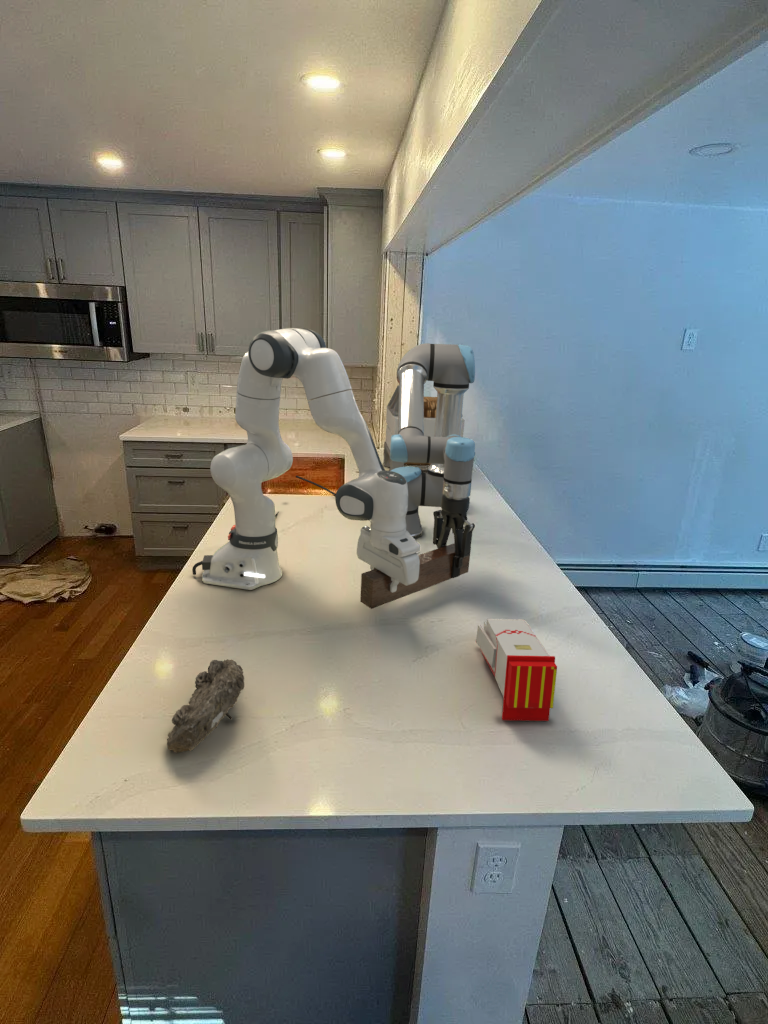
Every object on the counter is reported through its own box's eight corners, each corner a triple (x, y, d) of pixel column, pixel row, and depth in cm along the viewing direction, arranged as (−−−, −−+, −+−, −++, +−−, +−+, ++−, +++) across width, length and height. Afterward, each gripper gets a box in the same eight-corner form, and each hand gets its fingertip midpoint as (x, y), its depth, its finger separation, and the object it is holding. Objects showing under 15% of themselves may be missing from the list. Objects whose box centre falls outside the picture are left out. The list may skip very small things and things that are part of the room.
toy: (523, 604, 135) (566, 662, 106) (518, 656, 138) (559, 727, 109) (472, 603, 135) (501, 661, 105) (468, 655, 138) (496, 726, 108)
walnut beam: (360, 601, 144) (361, 573, 141) (456, 566, 166) (459, 541, 163) (371, 609, 141) (372, 580, 138) (468, 572, 163) (471, 546, 160)
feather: (286, 506, 225) (288, 502, 225) (268, 529, 199) (271, 525, 198) (282, 503, 225) (284, 499, 225) (264, 526, 199) (267, 522, 198)
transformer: (382, 463, 289) (386, 382, 275) (445, 464, 293) (451, 384, 279) (390, 482, 257) (394, 392, 243) (460, 483, 261) (468, 394, 247)
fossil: (192, 660, 117) (244, 628, 112) (224, 691, 120) (276, 661, 115) (142, 746, 98) (202, 712, 93) (182, 779, 101) (242, 748, 96)
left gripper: (351, 525, 145) (350, 574, 150) (406, 553, 131) (402, 606, 136) (370, 521, 149) (368, 568, 154) (425, 547, 135) (420, 598, 140)
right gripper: (423, 489, 156) (417, 565, 165) (471, 508, 144) (462, 589, 152) (442, 484, 161) (435, 558, 169) (490, 502, 149) (480, 581, 157)
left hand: (384, 586), depth 145 cm, fingers closed on walnut beam, 4 cm apart
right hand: (448, 573), depth 161 cm, fingers closed on walnut beam, 4 cm apart
